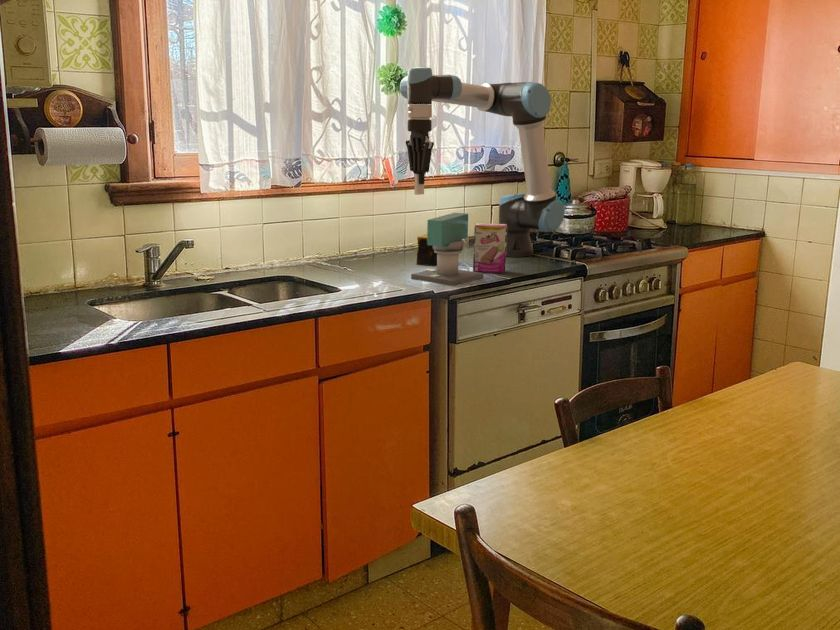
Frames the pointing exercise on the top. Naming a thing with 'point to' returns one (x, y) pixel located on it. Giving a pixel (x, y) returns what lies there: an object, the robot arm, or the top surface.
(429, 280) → the post base
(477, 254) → the candy bar box
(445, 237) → the teal boxy piece
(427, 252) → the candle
